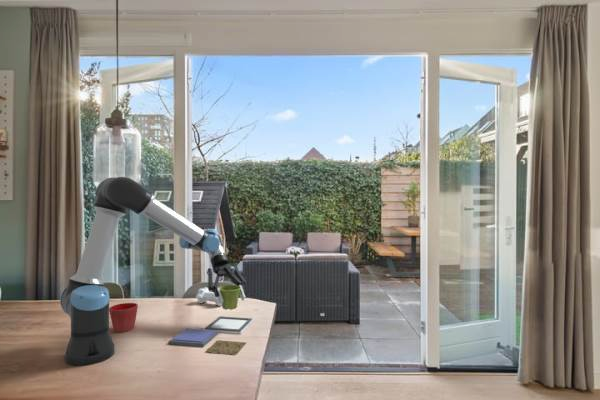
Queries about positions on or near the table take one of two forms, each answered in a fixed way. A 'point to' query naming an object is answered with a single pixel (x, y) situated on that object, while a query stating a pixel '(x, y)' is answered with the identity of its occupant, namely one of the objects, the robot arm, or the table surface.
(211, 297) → the bone shaped toy
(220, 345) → the brown square mat
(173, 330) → the table surface
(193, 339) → the ink pad
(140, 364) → the table surface
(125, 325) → the flower pot
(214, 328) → the marked board
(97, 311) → the robot arm
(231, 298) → the plant pot
